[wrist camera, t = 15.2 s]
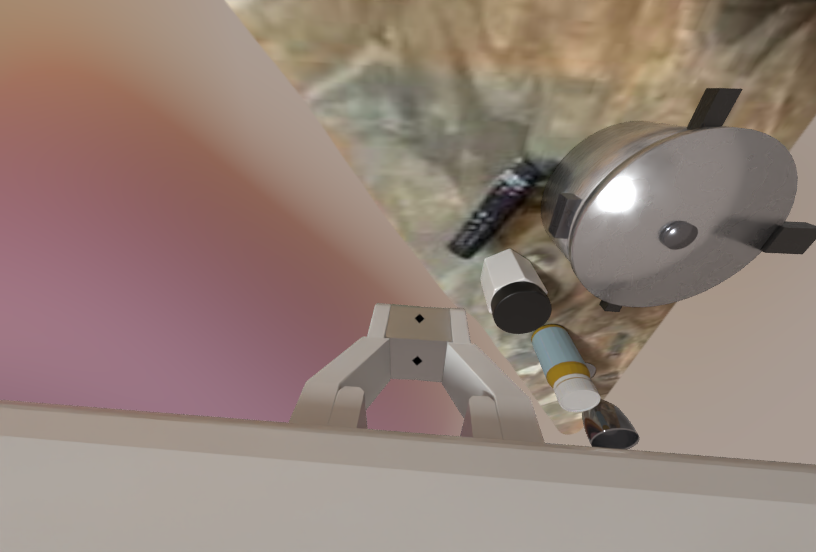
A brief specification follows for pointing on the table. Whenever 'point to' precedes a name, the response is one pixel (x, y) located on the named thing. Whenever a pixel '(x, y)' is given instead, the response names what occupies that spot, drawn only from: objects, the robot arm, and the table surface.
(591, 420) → the wine glass
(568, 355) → the bottle
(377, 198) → the table surface
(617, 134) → the cooker pot
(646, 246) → the lid
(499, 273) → the jar
